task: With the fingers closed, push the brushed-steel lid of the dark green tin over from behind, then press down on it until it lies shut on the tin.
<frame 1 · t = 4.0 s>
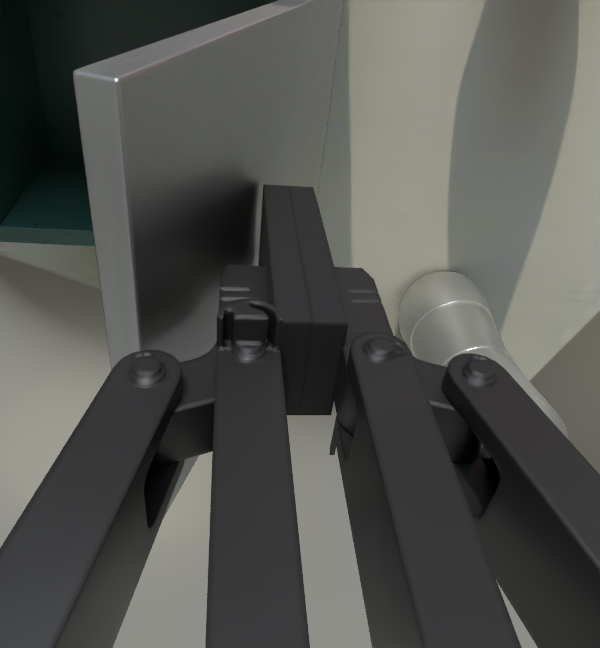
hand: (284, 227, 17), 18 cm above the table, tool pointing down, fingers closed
tin: (164, 67, 31), on the table
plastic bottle: (432, 295, 42), on the table
lid: (253, 217, 18), point 17 cm above the table, hinge at 68.4°, touching gripper
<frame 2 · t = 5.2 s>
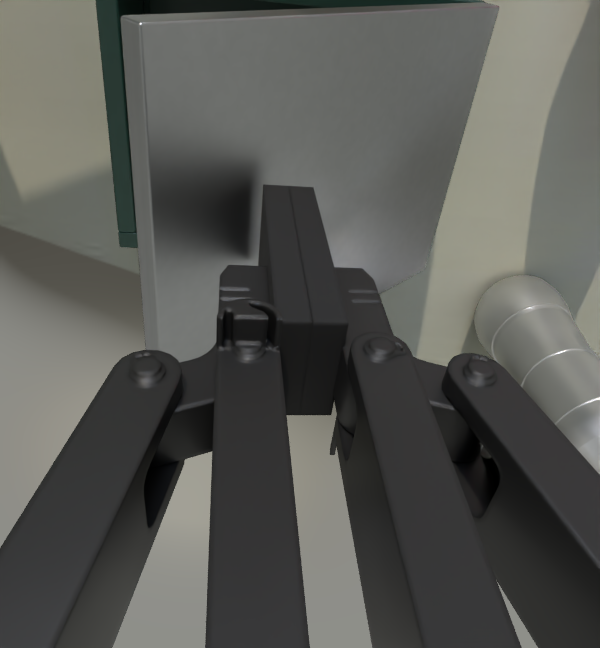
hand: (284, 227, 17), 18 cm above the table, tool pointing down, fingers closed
tin: (272, 77, 32), on the table
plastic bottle: (506, 298, 43), on the table
lid: (333, 193, 20), point 15 cm above the table, hinge at 40.0°
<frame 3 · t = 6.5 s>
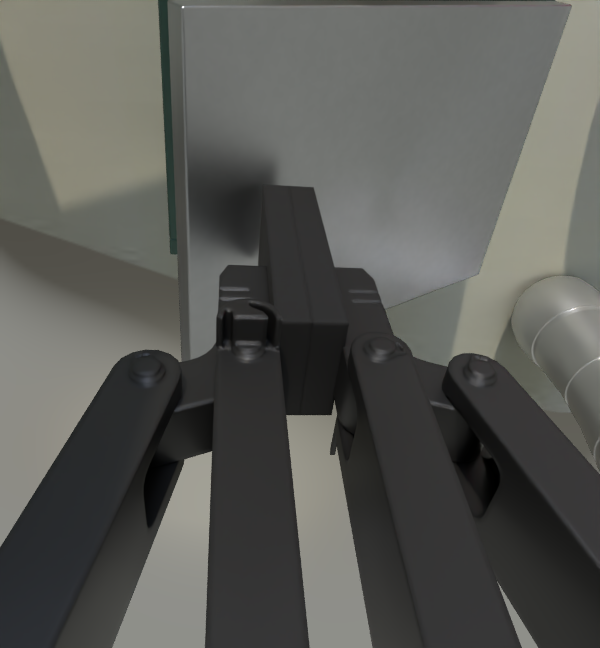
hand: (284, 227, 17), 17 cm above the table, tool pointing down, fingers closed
tin: (316, 77, 31), on the table
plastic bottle: (543, 299, 43), on the table
lid: (378, 186, 20), point 14 cm above the table, hinge at 30.0°
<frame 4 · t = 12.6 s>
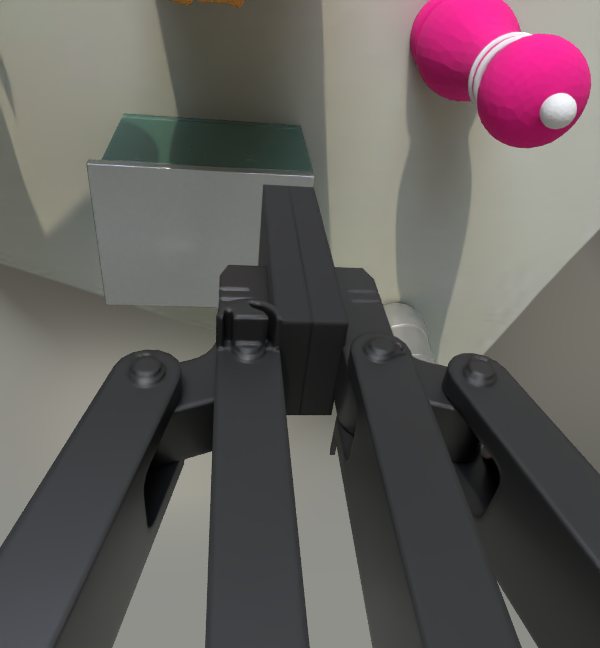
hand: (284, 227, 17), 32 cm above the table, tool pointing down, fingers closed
pepper mill: (447, 34, 44), on the table
tin: (213, 184, 50), on the table
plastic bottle: (389, 318, 62), on the table
lid: (204, 241, 42), point 10 cm above the table, hinge at 0.1°
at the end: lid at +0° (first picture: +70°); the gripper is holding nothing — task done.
